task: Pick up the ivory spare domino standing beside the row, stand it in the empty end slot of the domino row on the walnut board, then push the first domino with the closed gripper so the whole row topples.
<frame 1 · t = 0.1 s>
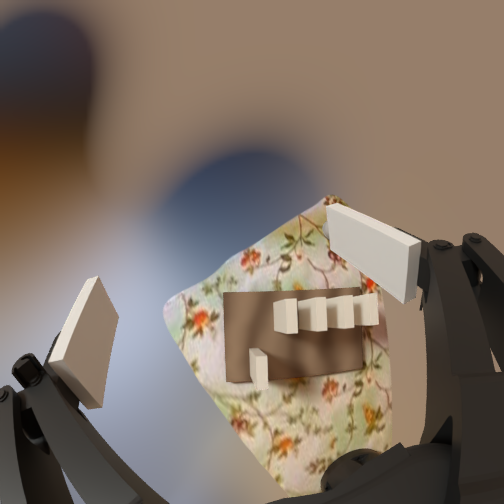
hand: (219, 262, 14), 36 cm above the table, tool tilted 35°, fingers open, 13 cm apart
domino 4: (278, 316, 48), point 1 cm above the table, touching walnut board
walnut board: (295, 334, 49), on the table
domino 3: (302, 314, 48), point 1 cm above the table, touching walnut board
spare domino: (254, 362, 46), point 1 cm above the table, touching walnut board
domino 1: (347, 311, 49), point 1 cm above the table, touching walnut board
domino 2: (325, 313, 49), point 1 cm above the table, touching walnut board
rook chess piece: (331, 231, 55), on the table
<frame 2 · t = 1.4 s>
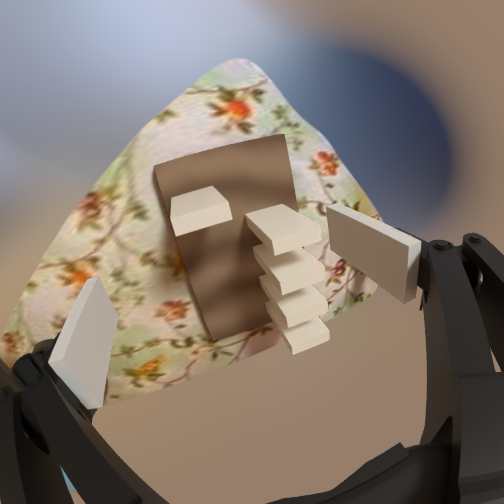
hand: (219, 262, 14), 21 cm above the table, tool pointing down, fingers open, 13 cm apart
domino 4: (265, 214, 35), point 1 cm above the table, touching walnut board
walnut board: (241, 243, 37), on the table
domino 3: (271, 246, 37), point 1 cm above the table, touching walnut board
spare domino: (193, 197, 32), point 1 cm above the table, touching walnut board
domino 1: (281, 301, 40), point 1 cm above the table, touching walnut board
domino 2: (277, 275, 39), point 1 cm above the table, touching walnut board
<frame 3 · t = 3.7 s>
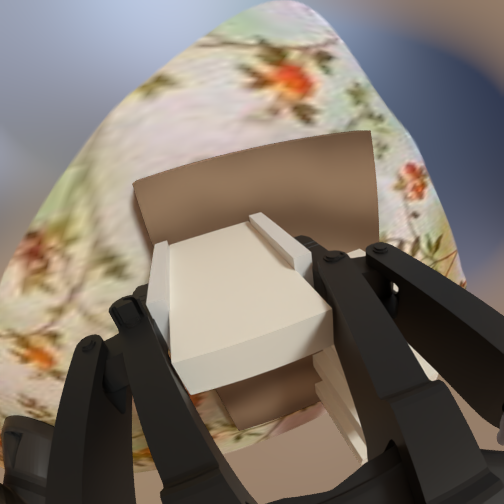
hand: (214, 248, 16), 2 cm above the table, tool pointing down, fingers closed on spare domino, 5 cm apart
walnut board: (289, 310, 22), on the table
domino 3: (335, 314, 22), point 1 cm above the table, touching walnut board
spare domino: (212, 244, 17), point 1 cm above the table, touching gripper, walnut board
domino 1: (336, 378, 26), point 1 cm above the table, touching walnut board
domino 2: (336, 350, 24), point 1 cm above the table, touching walnut board
when the fingers open (3 cm above the table, at t = 8.8 s): spare domino stays where it is, resting on walnut board.
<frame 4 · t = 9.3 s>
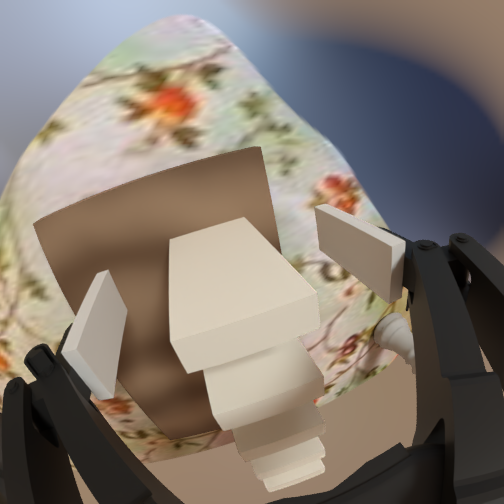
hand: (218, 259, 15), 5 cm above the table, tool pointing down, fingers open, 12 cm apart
domino 4: (227, 296, 20), point 1 cm above the table, touching walnut board
walnut board: (194, 333, 22), on the table
domino 3: (241, 341, 22), point 1 cm above the table, touching walnut board
spare domino: (210, 239, 18), point 1 cm above the table, touching walnut board
domino 1: (261, 400, 25), point 1 cm above the table, touching walnut board
domino 2: (252, 374, 23), point 1 cm above the table, touching walnut board
rook chess piece: (385, 325, 29), on the table
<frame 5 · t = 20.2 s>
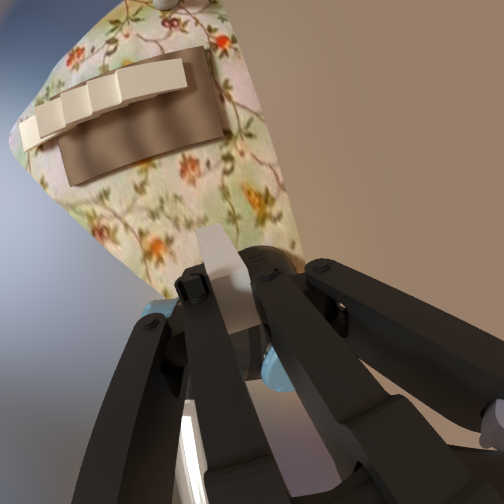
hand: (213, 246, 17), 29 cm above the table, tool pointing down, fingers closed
domino 4: (97, 100, 32), point 2 cm above the table, tilted 69°, touching domino 3, spare domino
walnut board: (132, 112, 36), on the table
domino 3: (125, 90, 33), point 2 cm above the table, tilted 69°, touching domino 2, domino 4, walnut board
spare domino: (72, 111, 31), point 2 cm above the table, tilted 90°, touching domino 4, walnut board
domino 1: (182, 73, 34), point 2 cm above the table, tilted 69°, touching domino 2, walnut board
domino 2: (153, 81, 33), point 2 cm above the table, tilted 69°, touching domino 1, domino 3
rook chess piece: (165, 2, 29), on the table
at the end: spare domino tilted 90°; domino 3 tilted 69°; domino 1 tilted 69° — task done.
